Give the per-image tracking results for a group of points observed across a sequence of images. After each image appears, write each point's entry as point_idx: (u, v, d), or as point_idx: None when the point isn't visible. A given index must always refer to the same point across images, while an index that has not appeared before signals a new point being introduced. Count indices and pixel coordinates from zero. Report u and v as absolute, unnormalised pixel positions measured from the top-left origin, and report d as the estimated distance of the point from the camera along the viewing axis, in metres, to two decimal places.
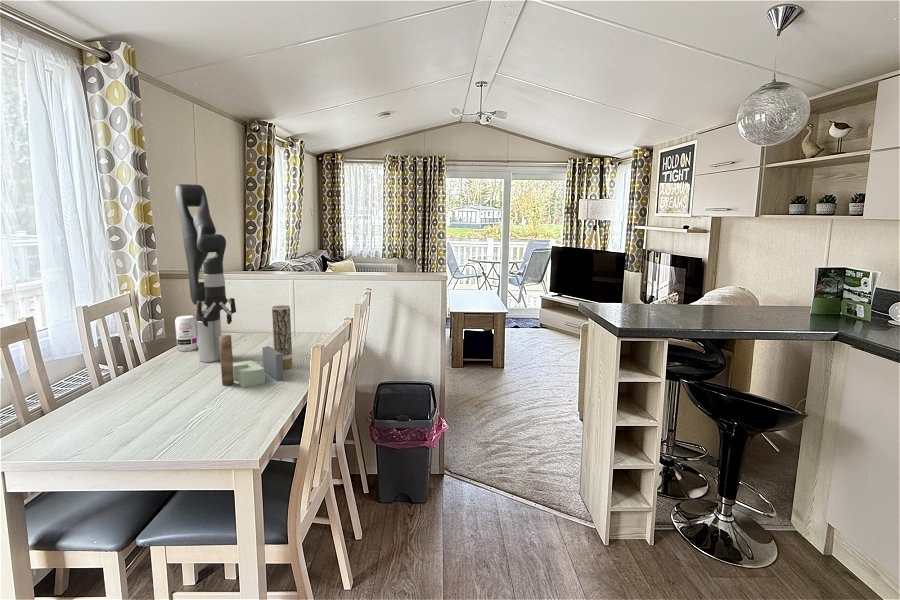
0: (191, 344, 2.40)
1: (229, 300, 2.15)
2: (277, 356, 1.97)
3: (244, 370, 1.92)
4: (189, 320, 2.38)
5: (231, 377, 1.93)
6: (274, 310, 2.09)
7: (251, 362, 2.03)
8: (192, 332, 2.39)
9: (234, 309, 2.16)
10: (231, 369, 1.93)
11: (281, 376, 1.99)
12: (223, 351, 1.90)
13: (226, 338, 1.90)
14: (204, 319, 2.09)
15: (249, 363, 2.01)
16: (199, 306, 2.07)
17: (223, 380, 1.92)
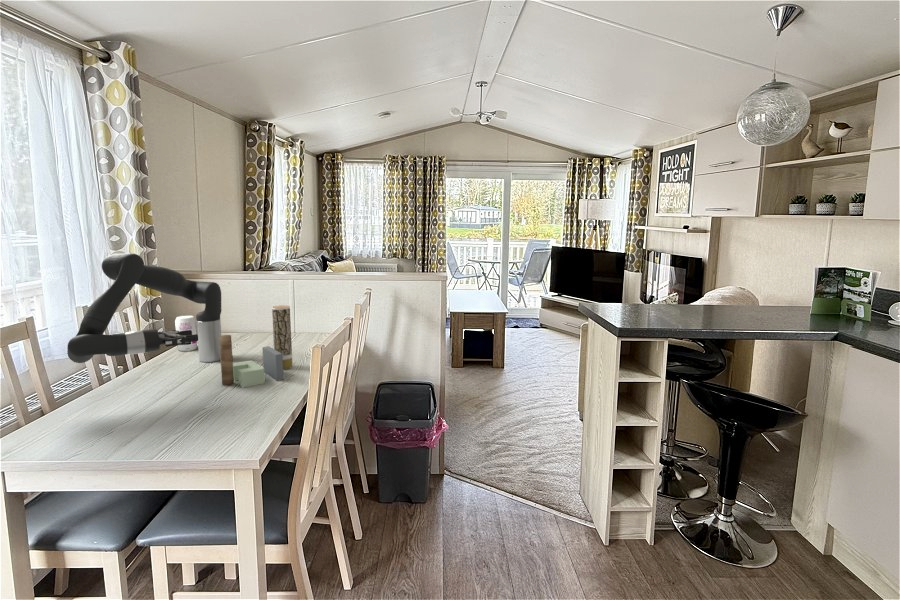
0: (191, 344, 2.40)
1: None
2: (277, 356, 1.97)
3: (244, 370, 1.92)
4: (189, 320, 2.38)
5: (231, 377, 1.93)
6: (274, 310, 2.09)
7: (251, 362, 2.03)
8: (192, 332, 2.39)
9: None
10: (231, 369, 1.93)
11: (281, 376, 1.99)
12: (223, 351, 1.90)
13: (226, 338, 1.90)
14: None
15: (249, 363, 2.01)
16: None
17: (223, 380, 1.92)
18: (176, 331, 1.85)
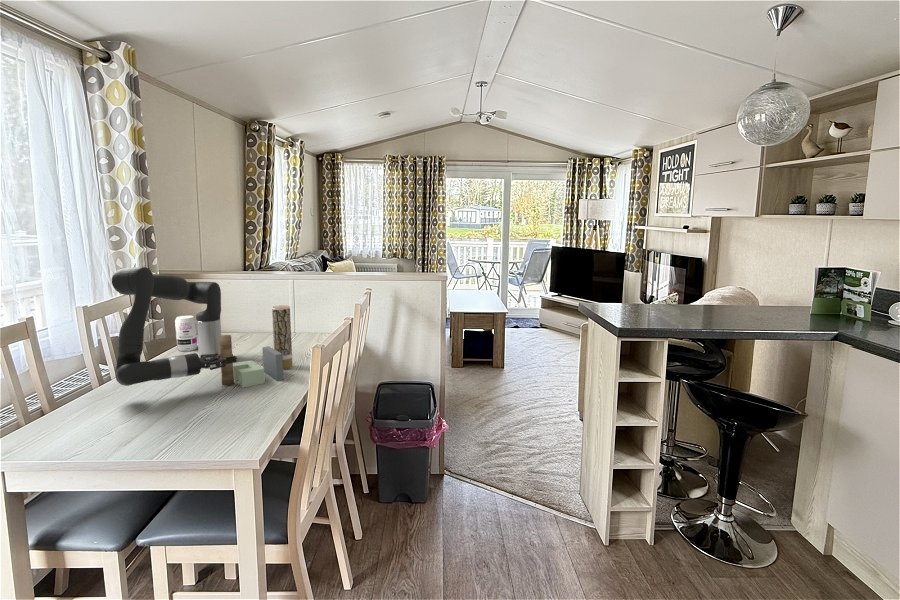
0: (191, 344, 2.40)
1: None
2: (277, 356, 1.97)
3: (244, 370, 1.92)
4: (189, 320, 2.38)
5: (231, 377, 1.93)
6: (274, 310, 2.09)
7: (251, 362, 2.03)
8: (192, 332, 2.39)
9: None
10: (231, 369, 1.93)
11: (281, 376, 1.99)
12: (223, 351, 1.90)
13: (226, 338, 1.90)
14: None
15: (249, 363, 2.01)
16: None
17: (223, 380, 1.92)
18: (218, 355, 1.93)
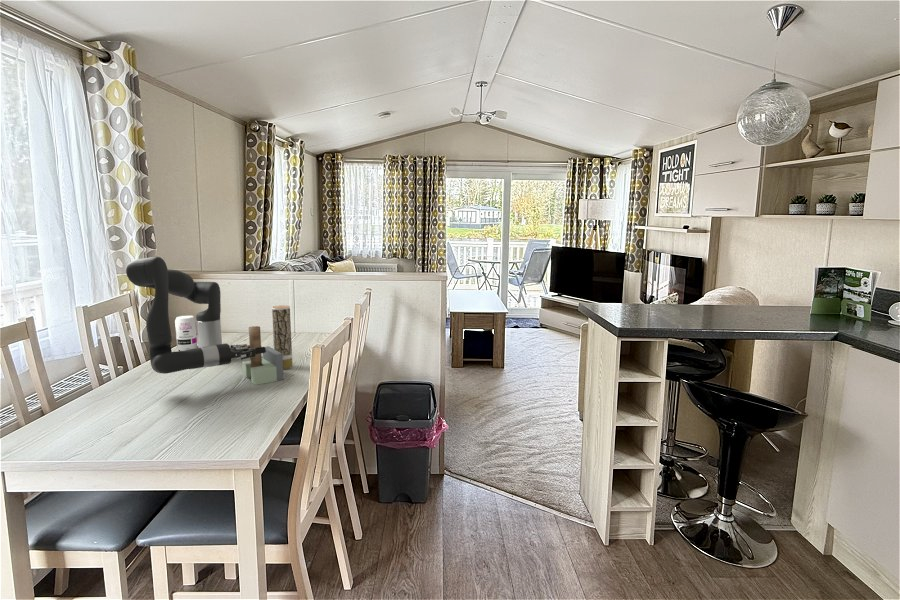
0: (191, 344, 2.40)
1: None
2: (277, 356, 1.97)
3: (257, 368, 1.95)
4: (189, 320, 2.38)
5: None
6: (274, 310, 2.09)
7: (263, 360, 2.06)
8: (192, 332, 2.39)
9: None
10: (260, 359, 1.99)
11: (281, 376, 1.99)
12: (252, 342, 1.97)
13: (256, 329, 1.96)
14: None
15: None
16: None
17: None
18: (247, 345, 1.99)
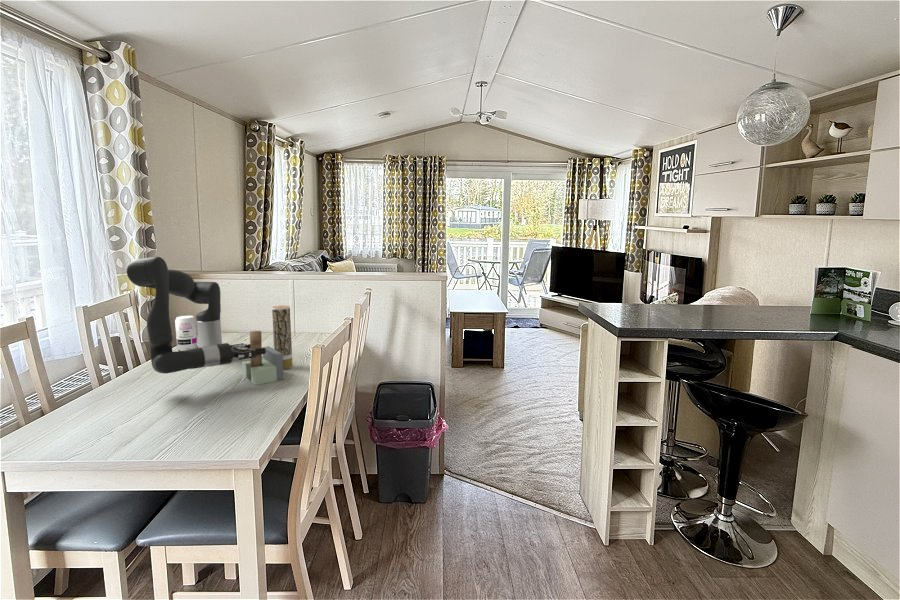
0: (191, 344, 2.40)
1: None
2: (277, 356, 1.97)
3: (257, 368, 1.95)
4: (189, 320, 2.38)
5: None
6: (274, 310, 2.09)
7: (263, 360, 2.06)
8: (192, 332, 2.39)
9: None
10: (260, 364, 1.99)
11: (281, 376, 1.99)
12: (253, 346, 1.97)
13: (257, 334, 1.96)
14: None
15: None
16: None
17: None
18: (244, 344, 2.00)
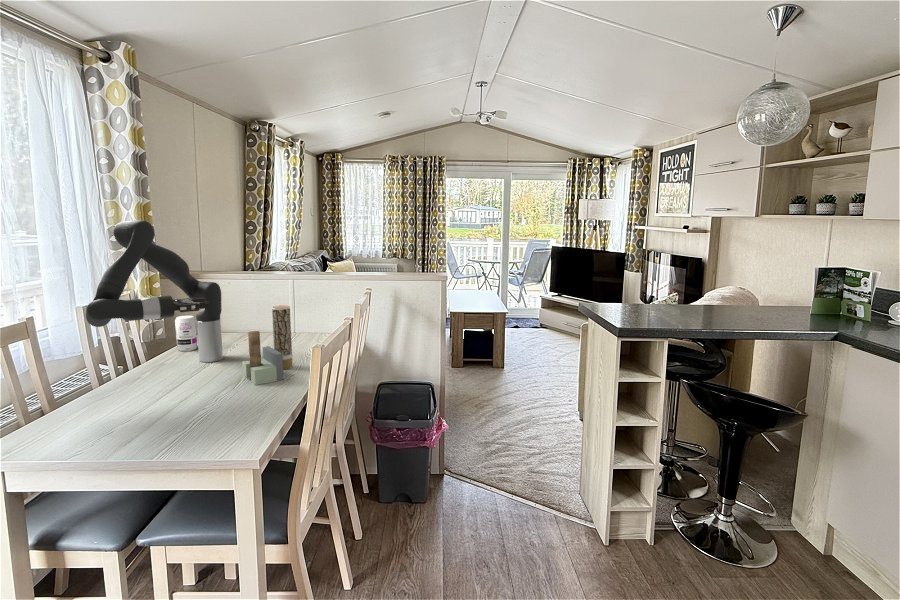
0: (191, 344, 2.40)
1: None
2: (277, 356, 1.97)
3: (257, 368, 1.95)
4: (189, 320, 2.38)
5: None
6: (274, 310, 2.09)
7: (263, 360, 2.06)
8: (192, 332, 2.39)
9: (195, 310, 1.82)
10: (259, 364, 1.99)
11: (281, 376, 1.99)
12: (252, 347, 1.97)
13: (255, 334, 1.96)
14: None
15: (261, 361, 2.04)
16: None
17: None
18: (189, 299, 1.90)
